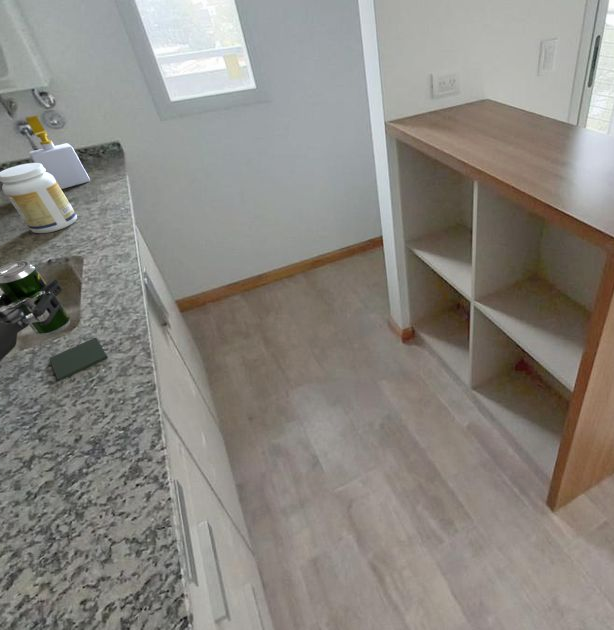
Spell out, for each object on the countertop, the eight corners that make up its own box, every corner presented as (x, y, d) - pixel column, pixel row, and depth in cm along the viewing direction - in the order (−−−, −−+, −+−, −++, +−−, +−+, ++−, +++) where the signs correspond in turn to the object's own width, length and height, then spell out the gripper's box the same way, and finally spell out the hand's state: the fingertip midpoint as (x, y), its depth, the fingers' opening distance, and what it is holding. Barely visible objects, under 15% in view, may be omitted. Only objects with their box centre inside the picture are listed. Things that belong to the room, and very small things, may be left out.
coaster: (59, 381, 78) (57, 379, 77) (50, 359, 82) (48, 358, 82) (108, 357, 82) (106, 355, 81) (97, 338, 86) (96, 336, 86)
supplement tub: (66, 213, 138) (33, 159, 127) (87, 220, 133) (54, 164, 122) (23, 230, 130) (-16, 173, 119) (43, 238, 125) (4, 180, 114)
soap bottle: (53, 192, 154) (9, 121, 139) (49, 187, 158) (7, 118, 143) (91, 181, 160) (53, 112, 146) (87, 177, 164) (50, 110, 149)
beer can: (48, 339, 74) (1, 280, 67) (29, 332, 76) (-17, 274, 69) (78, 321, 78) (38, 262, 71) (60, 315, 80) (19, 257, 73)
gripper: (-2, 327, 59) (69, 262, 73) (-109, 337, 59) (-18, 270, 72) (32, 367, 64) (93, 299, 77) (-67, 376, 64) (11, 307, 77)
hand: (39, 286), depth 75 cm, fingers closed on beer can, 5 cm apart
